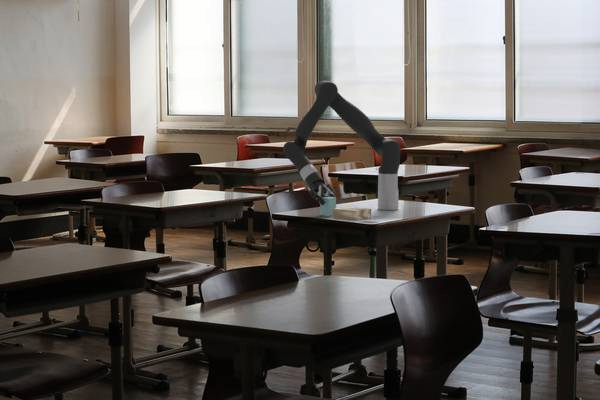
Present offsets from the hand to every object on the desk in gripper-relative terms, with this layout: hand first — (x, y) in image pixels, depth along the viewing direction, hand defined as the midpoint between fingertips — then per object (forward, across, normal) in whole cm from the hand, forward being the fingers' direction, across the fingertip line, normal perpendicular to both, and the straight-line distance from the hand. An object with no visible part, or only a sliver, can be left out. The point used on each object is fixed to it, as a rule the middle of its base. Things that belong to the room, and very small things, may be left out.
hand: (330, 203), depth 451 cm
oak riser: (+13, 0, -5) cm, 14 cm away
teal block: (+3, 0, +5) cm, 5 cm away
